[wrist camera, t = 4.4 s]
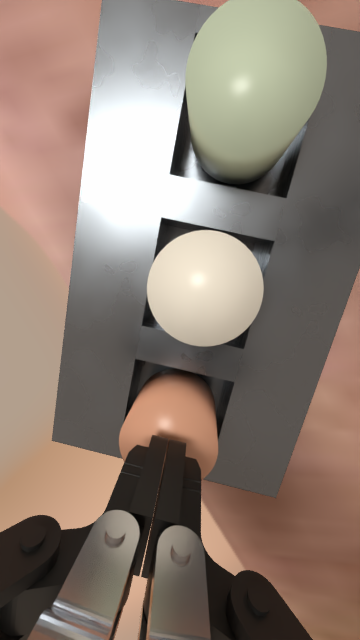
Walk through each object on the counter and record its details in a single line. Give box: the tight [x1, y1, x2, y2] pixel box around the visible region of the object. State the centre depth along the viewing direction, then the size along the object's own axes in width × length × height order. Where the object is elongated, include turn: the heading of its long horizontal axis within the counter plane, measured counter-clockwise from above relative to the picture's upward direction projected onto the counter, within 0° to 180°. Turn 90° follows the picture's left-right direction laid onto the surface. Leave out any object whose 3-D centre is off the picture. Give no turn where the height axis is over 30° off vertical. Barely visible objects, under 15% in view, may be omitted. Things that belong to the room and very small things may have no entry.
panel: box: [52, 0, 360, 498], centre depth 14 cm, size 21×13×3 cm, turn 168°
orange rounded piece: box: [119, 369, 218, 485], centre depth 13 cm, size 4×4×4 cm
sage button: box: [185, 0, 327, 184], centre depth 10 cm, size 4×4×4 cm
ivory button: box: [147, 230, 264, 347], centre depth 12 cm, size 4×4×4 cm
